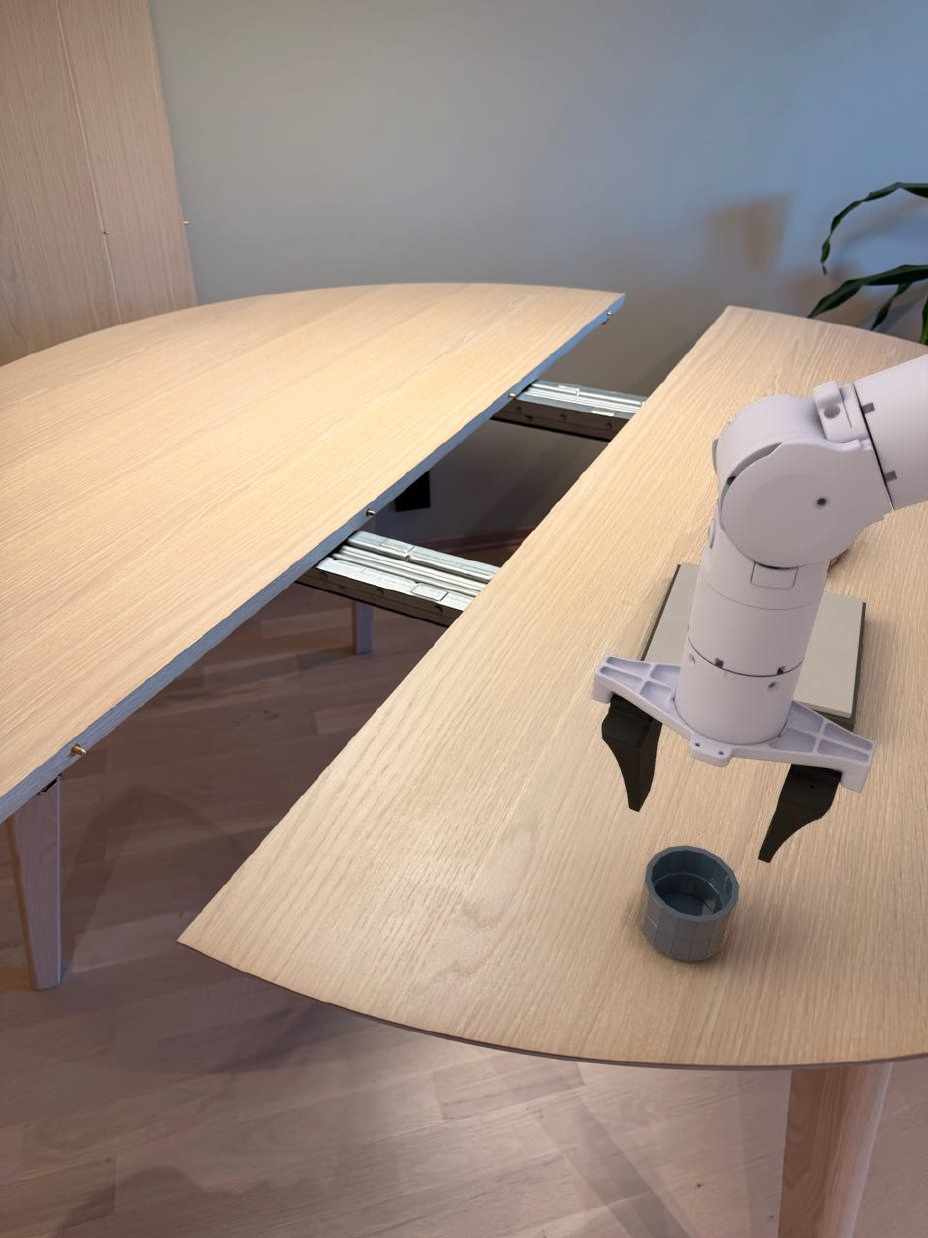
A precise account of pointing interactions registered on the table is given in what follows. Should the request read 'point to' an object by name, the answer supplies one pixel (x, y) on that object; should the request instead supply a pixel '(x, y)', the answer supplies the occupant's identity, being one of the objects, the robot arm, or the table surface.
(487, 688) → the table surface
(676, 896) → the cup
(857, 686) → the scale
